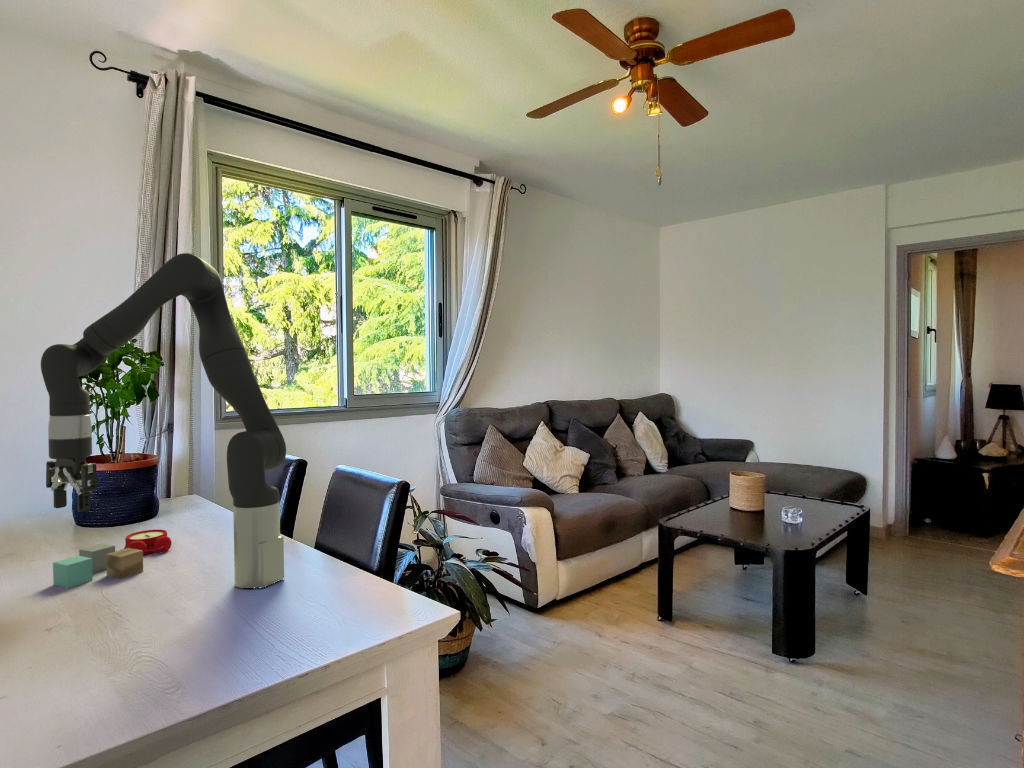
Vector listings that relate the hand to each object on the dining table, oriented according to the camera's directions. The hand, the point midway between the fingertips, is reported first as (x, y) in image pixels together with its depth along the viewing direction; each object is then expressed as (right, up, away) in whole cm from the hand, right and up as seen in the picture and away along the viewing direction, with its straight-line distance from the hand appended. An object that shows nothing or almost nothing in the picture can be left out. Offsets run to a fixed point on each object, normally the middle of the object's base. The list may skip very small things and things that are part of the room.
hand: (71, 509), depth 124 cm
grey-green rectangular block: (-1, -16, +9) cm, 19 cm away
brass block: (+8, -16, +5) cm, 19 cm away
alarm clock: (+2, -16, +23) cm, 28 cm away
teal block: (0, -16, 0) cm, 16 cm away
